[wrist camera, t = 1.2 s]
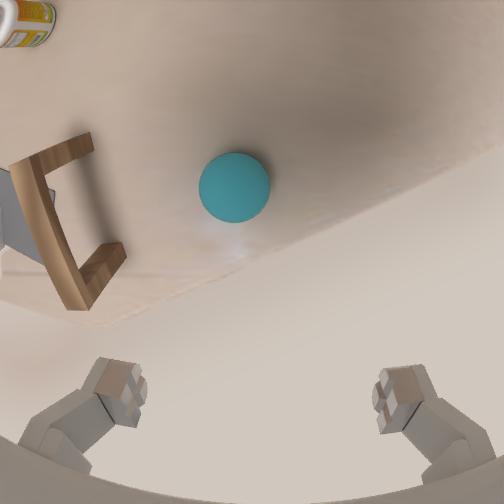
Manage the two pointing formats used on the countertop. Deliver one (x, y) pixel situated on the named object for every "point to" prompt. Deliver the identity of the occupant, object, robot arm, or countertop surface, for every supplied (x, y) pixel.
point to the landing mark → (16, 219)
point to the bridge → (50, 231)
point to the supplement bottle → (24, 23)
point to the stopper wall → (1, 231)
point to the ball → (234, 187)
